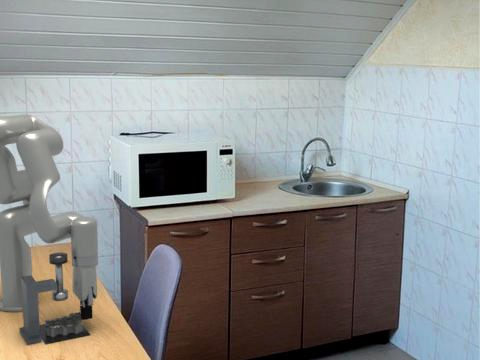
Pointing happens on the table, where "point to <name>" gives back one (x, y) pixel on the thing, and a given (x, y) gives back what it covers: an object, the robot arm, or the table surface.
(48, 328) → the egg carton
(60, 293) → the disc
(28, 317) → the press frame
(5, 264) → the robot arm
